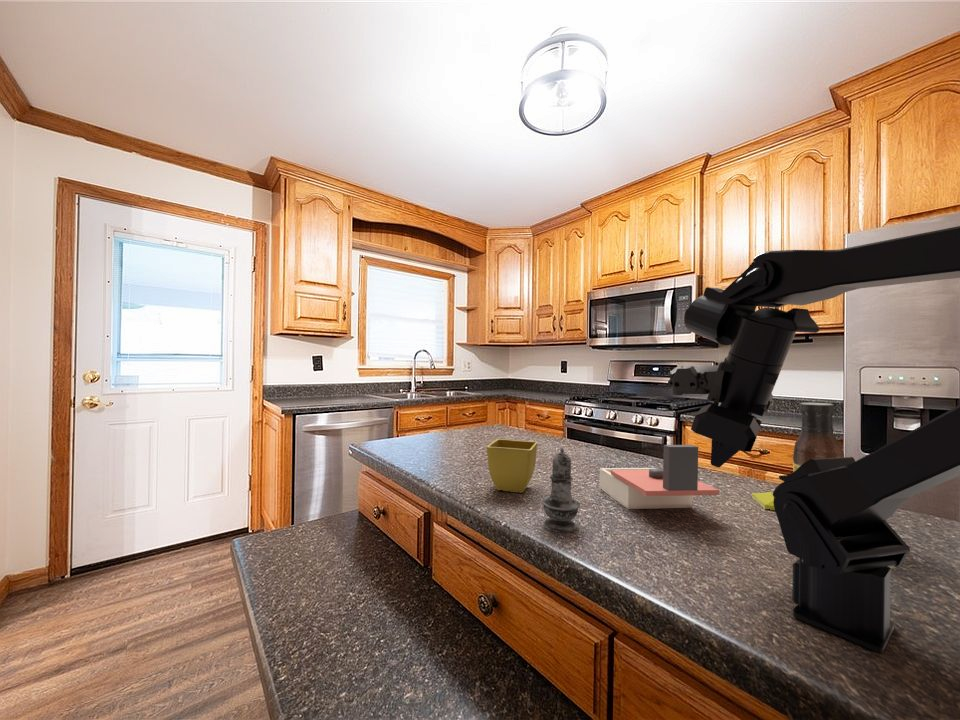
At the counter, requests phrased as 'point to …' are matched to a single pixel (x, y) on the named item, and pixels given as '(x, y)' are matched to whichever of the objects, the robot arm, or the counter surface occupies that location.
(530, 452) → the flower pot
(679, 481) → the lid
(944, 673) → the counter surface
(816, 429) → the sauce bottle
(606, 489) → the white rectangular box
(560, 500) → the salt shaker
